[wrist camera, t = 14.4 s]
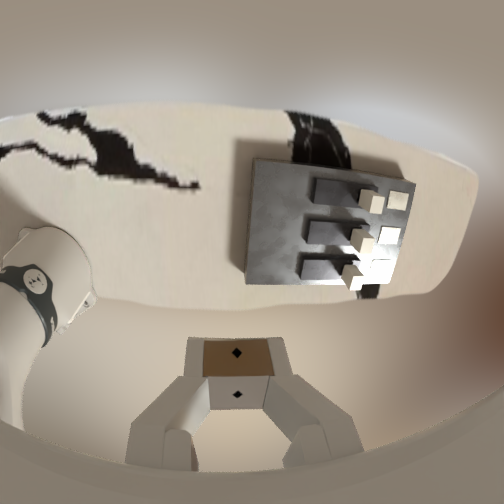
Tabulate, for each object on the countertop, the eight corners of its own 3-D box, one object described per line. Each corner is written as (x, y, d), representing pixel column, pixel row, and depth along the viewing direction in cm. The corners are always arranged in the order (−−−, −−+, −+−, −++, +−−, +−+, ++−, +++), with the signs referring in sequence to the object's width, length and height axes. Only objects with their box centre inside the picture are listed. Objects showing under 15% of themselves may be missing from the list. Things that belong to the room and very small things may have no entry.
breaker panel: (244, 273, 41) (246, 288, 38) (253, 157, 34) (257, 161, 30) (380, 274, 44) (391, 286, 41) (405, 179, 37) (419, 185, 33)
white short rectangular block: (341, 278, 38) (349, 290, 35) (344, 264, 37) (353, 276, 34) (351, 277, 38) (360, 289, 36) (355, 264, 37) (364, 276, 35)
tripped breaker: (358, 205, 33) (369, 212, 31) (361, 188, 32) (373, 195, 30) (369, 206, 34) (381, 214, 31) (372, 190, 33) (385, 197, 30)
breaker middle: (349, 243, 36) (359, 253, 33) (353, 228, 35) (363, 237, 32) (360, 244, 36) (371, 254, 33) (364, 229, 35) (375, 238, 32)
